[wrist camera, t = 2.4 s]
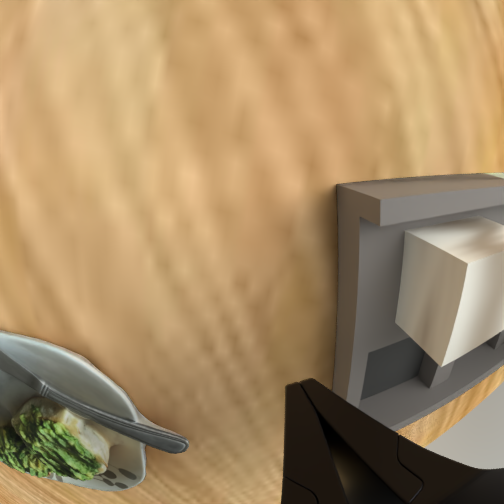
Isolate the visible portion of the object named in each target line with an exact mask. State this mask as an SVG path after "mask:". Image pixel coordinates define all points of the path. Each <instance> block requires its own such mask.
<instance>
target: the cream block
mask: <svg viewBox="0 0 504 504" xmlns="http://www.w3.org/2000/svg"><path fill="white" fill-rule="evenodd" d="M395 323H396V324H397V325H398V326H399V327H400V328H401V329H402V330H404V331H405V332H406V333H407V334H408V335H409V336H410V337H411V338H412V339H413V340H414V341H415V342H416V343H417V344H418V345H419V346H420V347H421V348H422V349H423V350H424V351H425V352H426V353H427V354H428V355H429V356H430V357H431V358H432V359H433V360H434V361H435V362H436V363H437V364H438V365H439V366H440V367H443V366H445V365H446V364H448V363H450V362H452V361H454V360H455V359H457V358H459V357H461V356H462V355H464V354H466V353H468V352H469V351H471V350H473V349H474V348H476V347H478V346H479V345H481V344H482V343H484V342H486V341H487V340H489V339H490V338H492V337H493V336H495V335H496V334H498V333H499V332H501V331H502V330H504V225H501V224H499V223H497V222H494V221H492V220H489V219H487V218H484V217H482V216H475V217H470V218H465V219H460V220H455V221H450V222H446V223H441V224H436V225H431V226H426V227H421V228H415V229H410V230H405V238H404V252H403V264H402V274H401V283H400V291H399V299H398V306H397V313H396V319H395Z"/></svg>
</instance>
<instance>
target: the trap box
mask: <svg viewBox="0 0 504 504" xmlns="http://www.w3.org/2000/svg"><path fill="white" fill-rule="evenodd" d="M337 209H338V307H337V331H336V349H335V364H334V377H333V389H332V392H334V393H335V394H337V395H338V396H340V397H341V398H343V399H344V400H346V401H347V402H349V403H350V404H352V405H354V406H355V407H357V408H358V409H360V410H361V411H363V412H364V413H366V414H367V415H369V416H371V417H372V418H374V419H375V420H377V421H379V422H380V423H382V424H383V425H385V426H387V427H388V428H390V429H392V430H393V431H397V430H399V429H401V428H403V427H405V426H407V425H409V424H411V423H413V422H415V421H417V420H419V419H421V418H422V417H424V416H426V415H428V414H430V413H432V412H433V411H435V410H437V409H439V408H440V407H442V406H444V405H445V404H447V403H449V402H450V401H452V400H454V399H455V398H457V397H458V396H460V395H461V394H463V393H465V392H466V391H468V390H469V389H471V388H472V387H474V386H475V385H477V384H478V383H479V382H481V381H482V380H484V379H485V378H486V377H488V376H489V375H491V374H492V373H493V372H495V371H496V370H497V369H499V368H500V367H501V366H503V365H504V330H502V331H501V332H499V333H498V334H496V335H495V336H493V337H492V338H490V339H489V340H487V341H486V342H484V343H482V344H481V345H479V346H478V347H476V348H474V349H473V350H471V351H469V352H468V353H466V354H464V355H462V356H461V357H459V358H457V359H455V360H454V361H452V362H450V363H448V364H446V365H445V366H443V367H440V366H439V365H438V364H437V363H436V362H435V361H434V360H433V359H432V358H431V357H430V356H429V355H428V354H427V353H426V352H425V351H424V350H423V349H422V348H421V347H420V346H419V345H418V344H417V343H416V342H415V341H414V340H413V339H412V338H411V337H410V336H409V335H408V334H407V333H406V332H405V331H404V330H402V329H401V328H400V327H399V326H398V325H397V324H396V323H395V319H396V313H397V306H398V299H399V291H400V283H401V274H402V264H403V252H404V238H405V230H410V229H415V228H421V227H426V226H431V225H436V224H441V223H446V222H450V221H455V220H460V219H465V218H470V217H475V216H482V217H484V218H487V219H489V220H492V221H494V222H497V223H499V224H501V225H504V173H476V174H454V175H436V176H421V177H407V178H395V179H383V180H372V181H362V182H352V183H343V184H337Z"/></svg>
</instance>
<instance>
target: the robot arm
mask: <svg viewBox="0 0 504 504" xmlns="http://www.w3.org/2000/svg"><path fill="white" fill-rule="evenodd" d="M281 504H504V468H501V469H478V468H473V467H470V466H467V465H464V464H462V463H459V462H456V461H454V460H451V459H449V458H446V457H444V456H441V455H439V454H436V453H434V452H432V451H429V450H427V449H425V448H423V447H421V446H419V445H417V444H415V443H414V442H412V441H410V440H408V439H407V438H405V437H403V436H402V435H399V436H398V433H396V432H395V431H393V430H392V429H390V428H388V427H387V426H385V425H383V424H382V423H380V422H379V421H377V420H375V419H374V418H372V417H371V416H369V415H367V414H366V413H364V412H363V411H361V410H360V409H358V408H357V407H355V406H354V405H352V404H350V403H349V402H347V401H346V400H344V399H343V398H341V397H340V396H338V395H337V394H335V393H334V392H332V391H331V390H329V389H328V388H326V387H325V386H324V385H322V384H321V383H319V382H318V381H316V380H315V379H313V378H309V379H305V380H302V381H300V382H295V383H291V384H287V385H286V386H285V427H284V460H283V481H282V496H281Z"/></svg>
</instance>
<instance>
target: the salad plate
mask: <svg viewBox="0 0 504 504" xmlns="http://www.w3.org/2000/svg"><path fill="white" fill-rule="evenodd" d="M146 445H149V446H151V447H154V448H156V449H159V450H162V451H165V452H168V453H174V454H177V453H182V452H185V451H186V450H187V449H188V447H189V441H188V440H187V439H186V438H185V437H184V436H182V435H180V434H177V433H175V432H173V431H171V430H168V429H165V428H163V427H160V426H158V425H156V424H154V423H152V422H151V421H149V420H148V419H146V418H145V417H144V416H143V415H142V414H141V413H140V412H139V411H138V409H137V408H136V407H135V405H134V404H133V402H132V401H131V399H130V398H129V396H128V395H127V393H126V392H125V391H124V390H123V389H122V388H121V387H119V386H118V385H117V384H115V383H114V382H113V381H112V380H111V379H110V378H109V377H107V376H106V375H105V374H104V373H102V372H101V371H100V370H99V369H97V368H96V367H95V366H94V365H93V364H92V363H91V362H90V361H89V360H88V359H86V358H85V357H83V356H82V355H80V354H77V353H75V352H73V351H70V350H68V349H66V348H64V347H61V346H58V345H55V344H52V343H50V342H47V341H44V340H41V339H37V338H33V337H28V336H25V335H20V334H15V333H11V332H7V331H3V330H0V461H1V462H3V463H4V464H6V465H8V466H9V467H11V468H14V469H16V470H18V471H20V472H21V473H28V474H30V475H31V476H34V475H35V476H37V477H38V478H41V477H44V478H47V479H52V480H56V481H60V482H64V483H70V484H73V485H76V486H79V487H86V488H91V489H96V490H102V491H121V490H126V489H129V488H131V487H134V486H136V485H138V484H139V483H141V482H142V481H143V480H144V479H145V476H146V469H145V467H146V455H145V447H146Z"/></svg>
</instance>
